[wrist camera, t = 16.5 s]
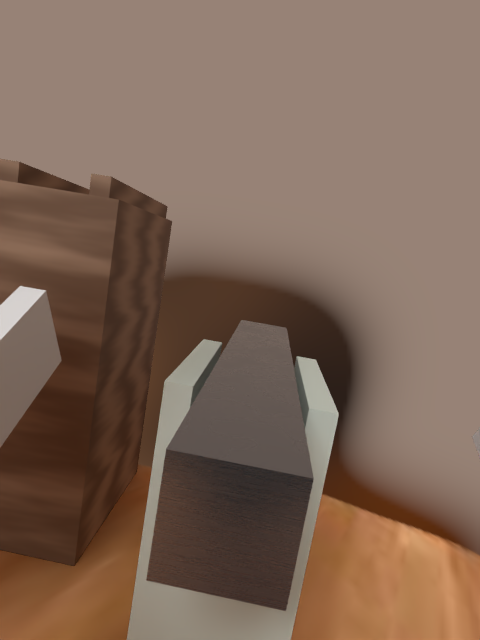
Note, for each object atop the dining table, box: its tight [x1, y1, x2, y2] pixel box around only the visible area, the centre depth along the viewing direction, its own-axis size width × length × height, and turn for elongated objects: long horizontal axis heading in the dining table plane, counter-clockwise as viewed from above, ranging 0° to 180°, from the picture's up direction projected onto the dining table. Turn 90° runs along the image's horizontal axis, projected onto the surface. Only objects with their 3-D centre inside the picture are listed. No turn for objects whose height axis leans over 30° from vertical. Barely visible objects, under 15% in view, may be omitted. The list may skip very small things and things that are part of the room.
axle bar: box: [146, 320, 314, 611], centre depth 24 cm, size 26×4×4 cm, turn 175°
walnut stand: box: [0, 159, 172, 566], centre depth 41 cm, size 16×10×32 cm, turn 175°
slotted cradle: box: [127, 339, 339, 640], centre depth 29 cm, size 12×9×20 cm
